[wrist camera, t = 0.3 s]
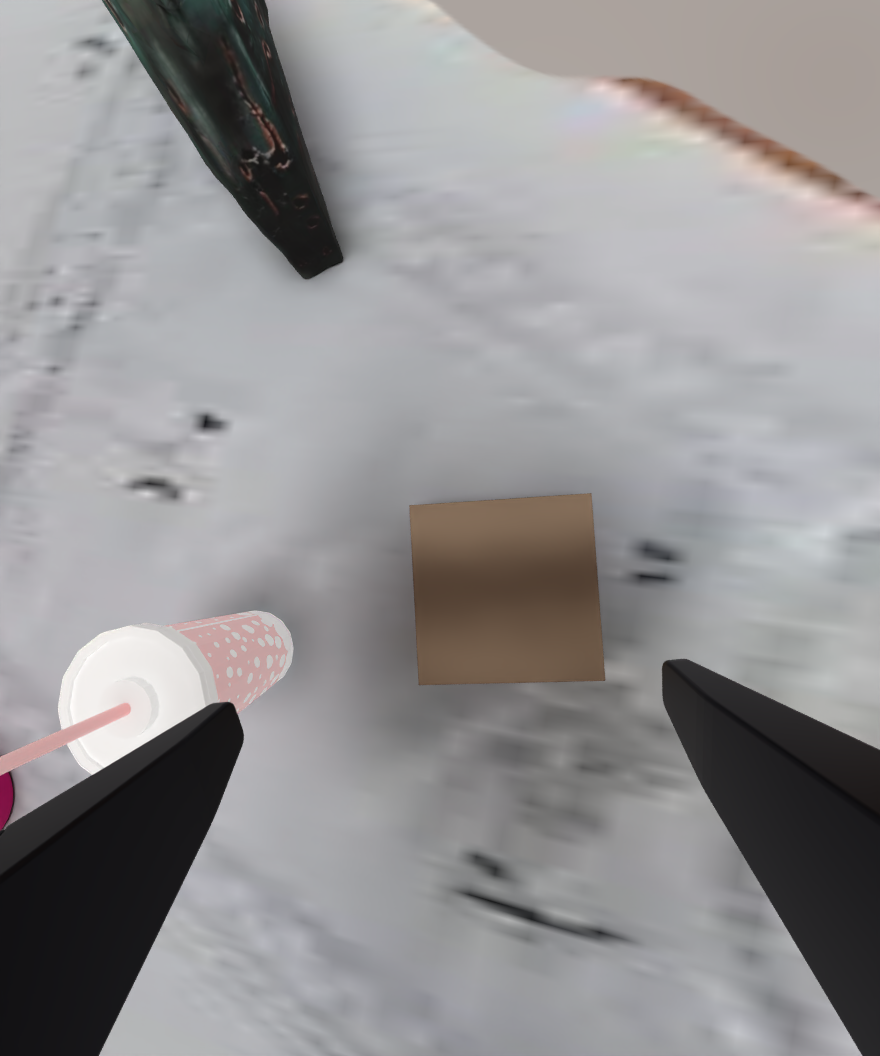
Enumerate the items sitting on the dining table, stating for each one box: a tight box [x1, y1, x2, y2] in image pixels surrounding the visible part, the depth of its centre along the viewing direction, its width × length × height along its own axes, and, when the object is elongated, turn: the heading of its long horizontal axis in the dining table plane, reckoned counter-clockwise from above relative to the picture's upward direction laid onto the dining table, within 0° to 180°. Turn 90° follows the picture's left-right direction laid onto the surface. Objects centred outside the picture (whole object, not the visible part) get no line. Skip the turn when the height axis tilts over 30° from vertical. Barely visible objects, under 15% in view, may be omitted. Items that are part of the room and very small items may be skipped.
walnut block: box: [410, 493, 605, 685], centre depth 22 cm, size 9×9×3 cm
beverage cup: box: [0, 610, 294, 775], centre depth 18 cm, size 6×6×14 cm
